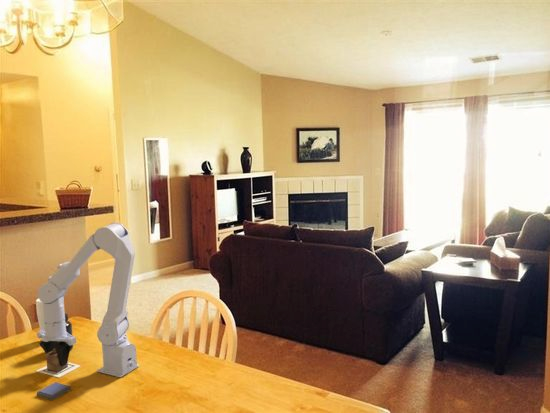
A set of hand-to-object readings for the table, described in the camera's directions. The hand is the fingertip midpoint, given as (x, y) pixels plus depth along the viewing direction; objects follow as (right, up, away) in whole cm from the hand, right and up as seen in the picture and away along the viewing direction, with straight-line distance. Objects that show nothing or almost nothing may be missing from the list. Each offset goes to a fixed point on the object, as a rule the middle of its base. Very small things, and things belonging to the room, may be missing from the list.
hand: (58, 363), depth 141 cm
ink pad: (+5, -3, -14) cm, 15 cm away
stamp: (0, -2, 0) cm, 2 cm away
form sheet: (0, -2, 0) cm, 2 cm away
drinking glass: (-13, 0, +22) cm, 26 cm away
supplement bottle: (-5, 0, +14) cm, 15 cm away
